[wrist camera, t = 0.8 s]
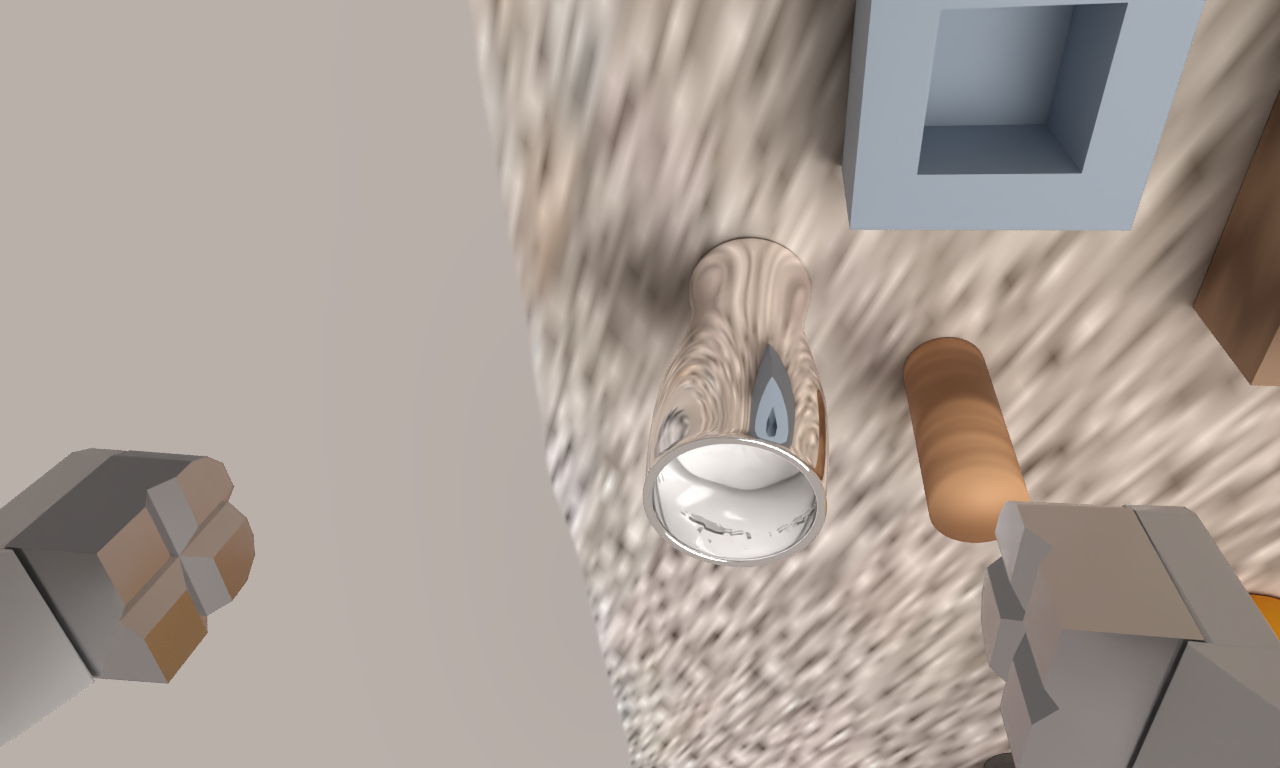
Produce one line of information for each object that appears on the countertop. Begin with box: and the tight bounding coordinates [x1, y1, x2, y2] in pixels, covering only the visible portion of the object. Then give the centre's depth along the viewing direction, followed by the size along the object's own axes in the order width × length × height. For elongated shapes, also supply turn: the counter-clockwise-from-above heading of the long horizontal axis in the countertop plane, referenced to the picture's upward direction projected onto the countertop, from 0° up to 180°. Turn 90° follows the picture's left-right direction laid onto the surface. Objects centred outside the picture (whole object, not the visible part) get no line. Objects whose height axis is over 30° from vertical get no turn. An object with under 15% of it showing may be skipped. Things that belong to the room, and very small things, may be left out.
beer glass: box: [643, 238, 829, 567], centre depth 35 cm, size 7×7×15 cm
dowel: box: [903, 337, 1031, 543], centre depth 38 cm, size 4×4×10 cm
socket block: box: [842, 0, 1205, 230], centre depth 30 cm, size 10×10×6 cm
